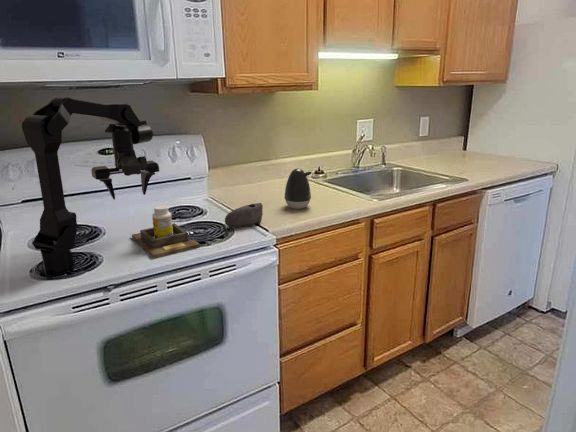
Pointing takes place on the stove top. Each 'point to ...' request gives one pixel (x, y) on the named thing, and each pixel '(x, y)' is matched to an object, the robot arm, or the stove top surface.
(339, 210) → the stove top surface
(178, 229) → the holder board
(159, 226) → the supplement bottle
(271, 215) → the stove top surface
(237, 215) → the perforated stone tool
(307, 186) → the pump dispenser
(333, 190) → the stove top surface
